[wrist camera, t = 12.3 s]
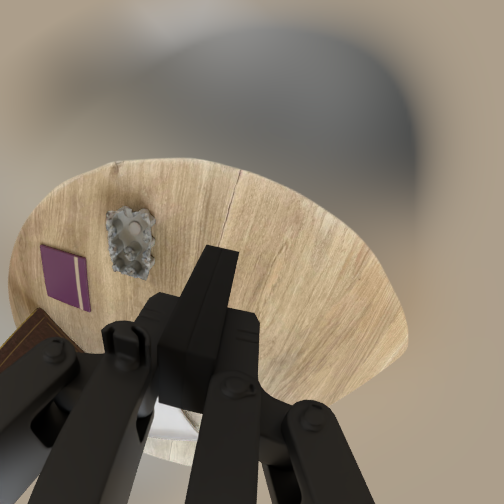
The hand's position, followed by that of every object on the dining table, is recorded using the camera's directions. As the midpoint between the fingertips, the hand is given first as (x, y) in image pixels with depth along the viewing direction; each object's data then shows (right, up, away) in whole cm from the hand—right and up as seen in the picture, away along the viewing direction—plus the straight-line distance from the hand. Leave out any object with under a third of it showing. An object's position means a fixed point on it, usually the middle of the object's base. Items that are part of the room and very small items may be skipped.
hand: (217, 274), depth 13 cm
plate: (-23, -41, +48) cm, 67 cm away
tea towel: (-35, -4, +32) cm, 48 cm away
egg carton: (-17, +3, +28) cm, 33 cm away
